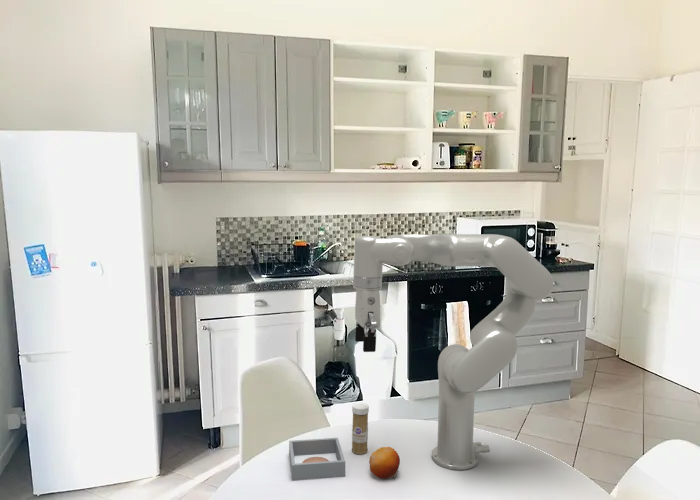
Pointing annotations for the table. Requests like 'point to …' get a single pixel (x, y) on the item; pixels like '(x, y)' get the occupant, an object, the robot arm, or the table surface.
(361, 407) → the sprinkles bottle
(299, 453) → the grey square tray
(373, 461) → the fruit
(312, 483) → the table surface
